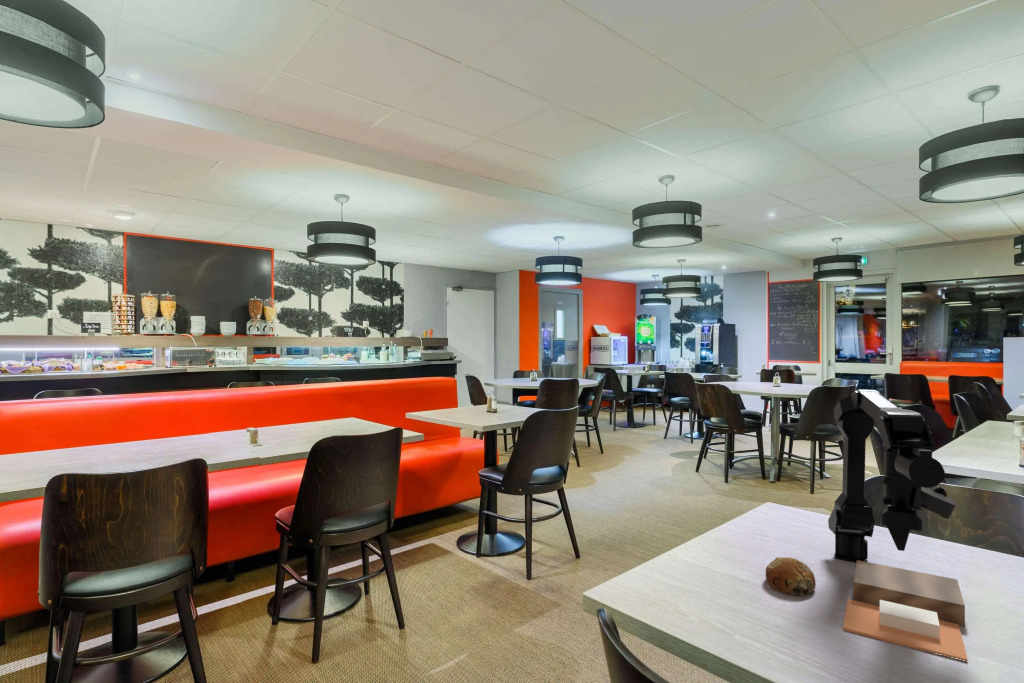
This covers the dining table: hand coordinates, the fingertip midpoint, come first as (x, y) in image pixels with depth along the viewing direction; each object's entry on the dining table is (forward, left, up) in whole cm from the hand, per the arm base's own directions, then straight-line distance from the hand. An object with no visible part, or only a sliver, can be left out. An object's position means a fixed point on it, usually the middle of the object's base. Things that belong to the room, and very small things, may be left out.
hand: (900, 550), depth 109 cm
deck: (+1, +7, -12) cm, 14 cm away
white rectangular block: (+1, -7, -11) cm, 13 cm away
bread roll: (-20, -1, -13) cm, 24 cm away
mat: (0, -8, -12) cm, 15 cm away
